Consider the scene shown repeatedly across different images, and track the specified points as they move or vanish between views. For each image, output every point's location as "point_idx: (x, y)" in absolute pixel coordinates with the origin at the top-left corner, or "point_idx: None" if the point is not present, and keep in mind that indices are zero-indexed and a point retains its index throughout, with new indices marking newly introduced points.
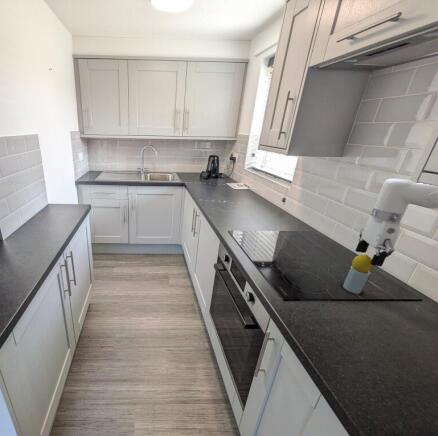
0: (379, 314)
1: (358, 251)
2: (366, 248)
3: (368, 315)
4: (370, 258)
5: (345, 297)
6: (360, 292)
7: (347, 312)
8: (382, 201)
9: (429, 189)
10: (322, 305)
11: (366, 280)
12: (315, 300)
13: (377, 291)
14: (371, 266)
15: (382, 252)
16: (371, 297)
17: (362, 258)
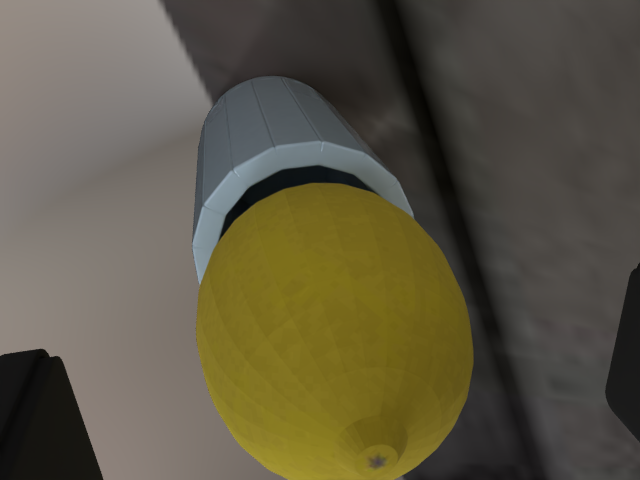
0: (588, 52)
1: (99, 475)
2: (25, 465)
3: (613, 144)
4: (417, 364)
5: (433, 237)
6: (325, 99)
7: (605, 269)
8: None
9: None
10: (565, 387)
11: (358, 137)
12: (526, 415)
13: None
14: (438, 250)
15: None
16: (352, 7)
17: (424, 458)
